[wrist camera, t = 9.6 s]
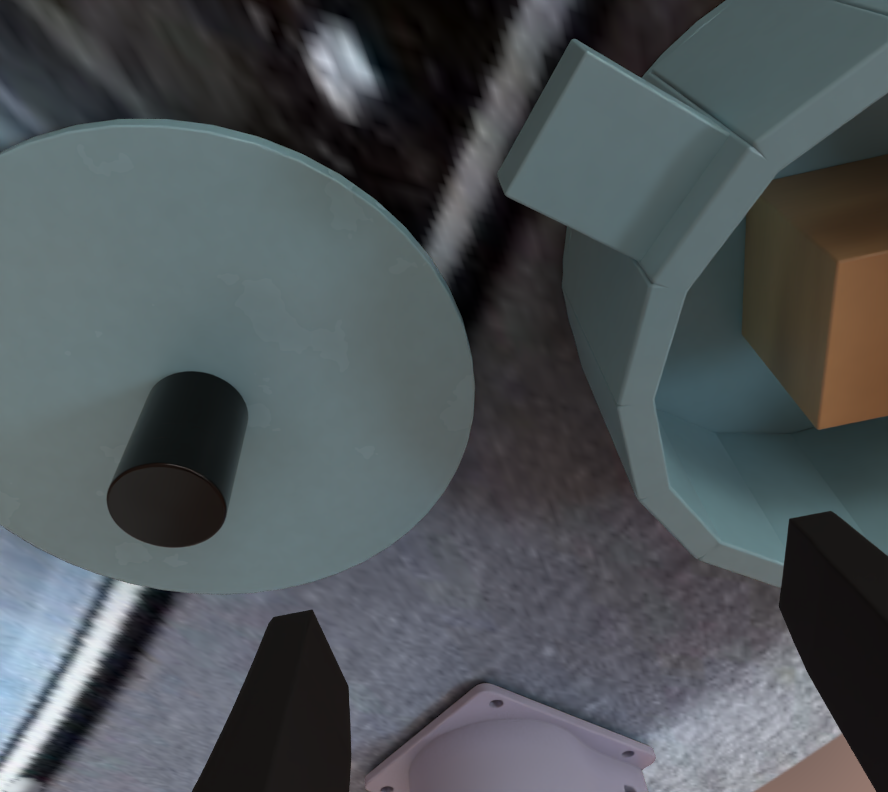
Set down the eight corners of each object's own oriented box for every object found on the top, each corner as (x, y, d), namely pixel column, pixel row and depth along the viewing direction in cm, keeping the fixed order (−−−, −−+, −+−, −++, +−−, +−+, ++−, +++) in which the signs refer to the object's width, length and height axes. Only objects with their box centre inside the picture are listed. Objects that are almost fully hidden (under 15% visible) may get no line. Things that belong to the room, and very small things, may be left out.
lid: (347, 609, 24) (343, 740, 21) (-118, 488, 20) (-227, 626, 16) (570, 269, 18) (621, 372, 14) (-50, -22, 13) (-208, 17, 10)
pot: (883, 517, 24) (998, 663, 20) (372, 309, 18) (372, 451, 14) (1275, 168, 18) (1572, 266, 13) (693, -316, 12) (878, -422, 8)
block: (927, 144, 16) (1065, 212, 13) (899, 300, 19) (1010, 392, 15) (746, 184, 17) (837, 262, 13) (740, 334, 19) (817, 431, 16)
